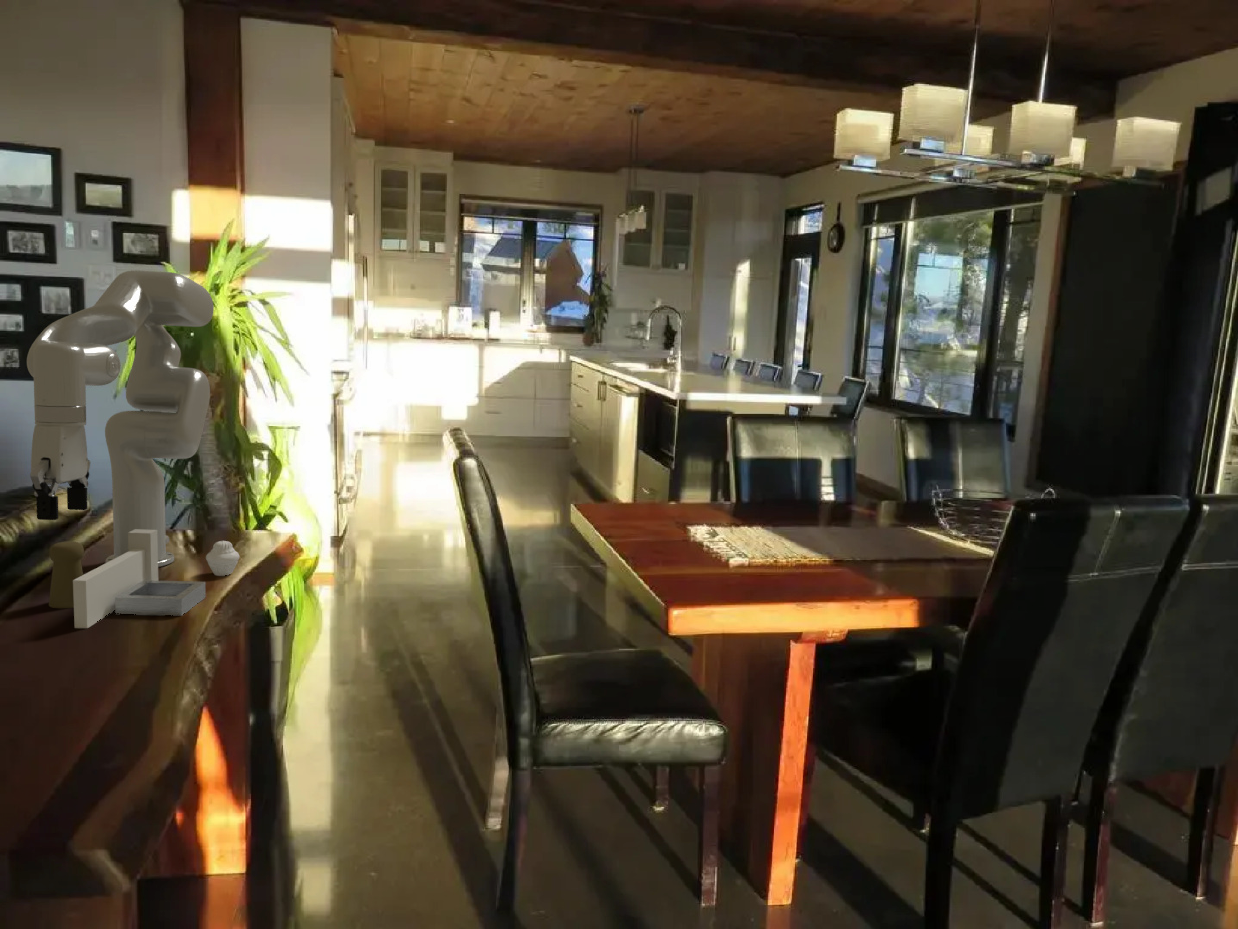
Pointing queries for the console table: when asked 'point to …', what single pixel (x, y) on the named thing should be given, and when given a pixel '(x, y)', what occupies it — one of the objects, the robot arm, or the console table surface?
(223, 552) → the muffin
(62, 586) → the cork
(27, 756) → the console table surface
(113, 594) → the door panel
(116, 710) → the console table surface
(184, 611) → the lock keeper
